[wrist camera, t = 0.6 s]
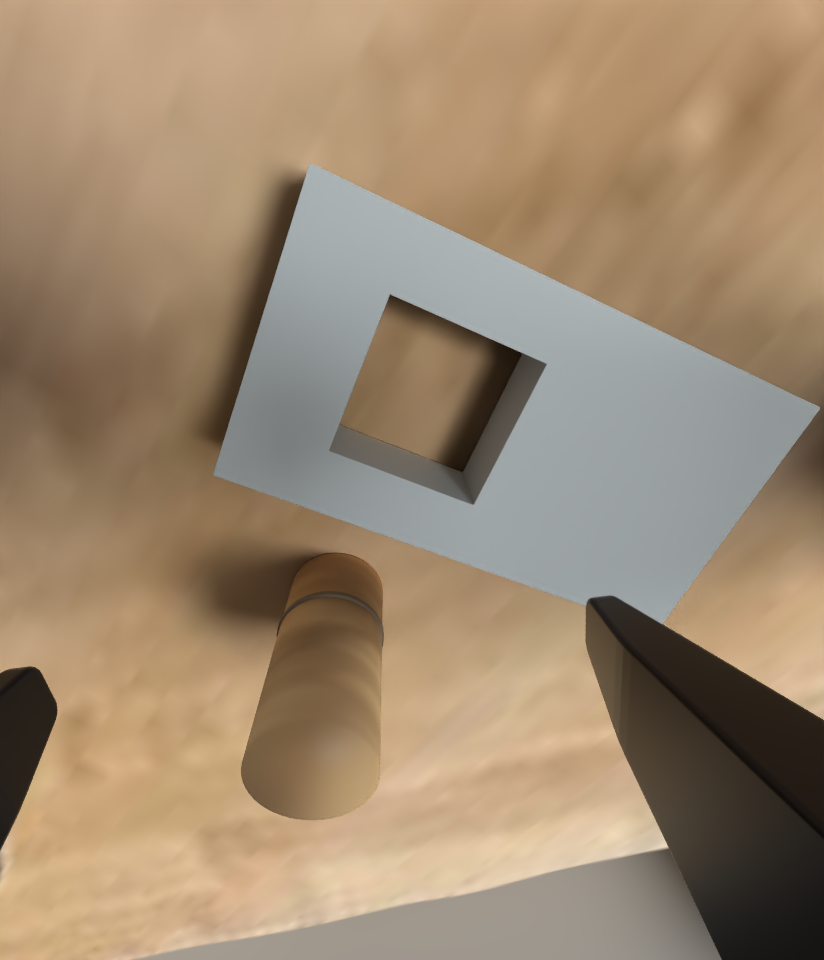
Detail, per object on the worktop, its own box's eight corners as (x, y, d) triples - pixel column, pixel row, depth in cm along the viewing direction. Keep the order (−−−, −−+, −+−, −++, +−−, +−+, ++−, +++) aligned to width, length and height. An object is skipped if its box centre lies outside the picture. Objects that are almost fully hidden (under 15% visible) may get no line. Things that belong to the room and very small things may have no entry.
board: (764, 386, 21) (820, 407, 18) (626, 587, 25) (656, 631, 22) (322, 175, 18) (309, 162, 15) (235, 445, 21) (212, 475, 18)
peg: (398, 569, 24) (403, 744, 15) (363, 640, 25) (352, 833, 17) (308, 539, 23) (263, 705, 15) (278, 613, 24) (222, 803, 16)
